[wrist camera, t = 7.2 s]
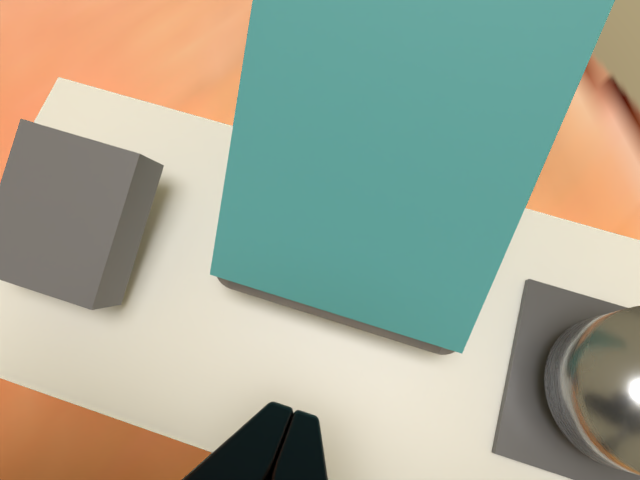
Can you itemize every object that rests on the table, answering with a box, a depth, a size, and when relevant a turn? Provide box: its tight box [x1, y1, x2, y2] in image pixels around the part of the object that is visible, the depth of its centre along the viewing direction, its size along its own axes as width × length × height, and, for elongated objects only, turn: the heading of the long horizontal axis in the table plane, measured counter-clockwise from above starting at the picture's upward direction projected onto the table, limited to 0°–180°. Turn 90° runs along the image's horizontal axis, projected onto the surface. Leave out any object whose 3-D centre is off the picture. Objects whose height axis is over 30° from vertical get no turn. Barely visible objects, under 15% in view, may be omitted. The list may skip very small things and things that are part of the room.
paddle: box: [210, 0, 615, 355], centre depth 11 cm, size 2×7×13 cm
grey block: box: [0, 119, 164, 310], centre depth 14 cm, size 4×4×2 cm
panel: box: [0, 77, 640, 480], centre depth 15 cm, size 10×24×2 cm, turn 72°
